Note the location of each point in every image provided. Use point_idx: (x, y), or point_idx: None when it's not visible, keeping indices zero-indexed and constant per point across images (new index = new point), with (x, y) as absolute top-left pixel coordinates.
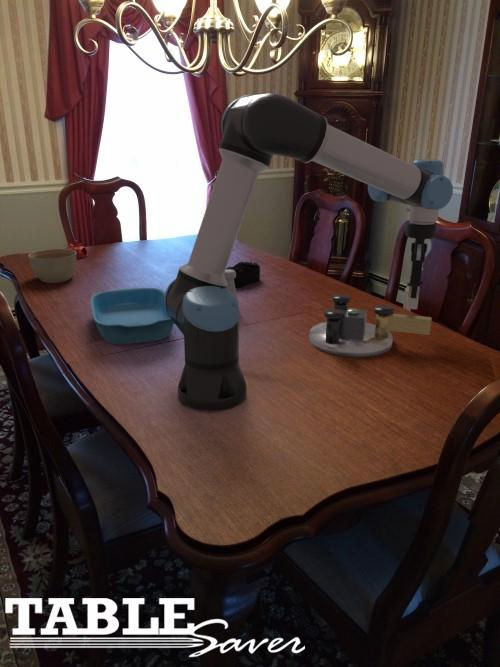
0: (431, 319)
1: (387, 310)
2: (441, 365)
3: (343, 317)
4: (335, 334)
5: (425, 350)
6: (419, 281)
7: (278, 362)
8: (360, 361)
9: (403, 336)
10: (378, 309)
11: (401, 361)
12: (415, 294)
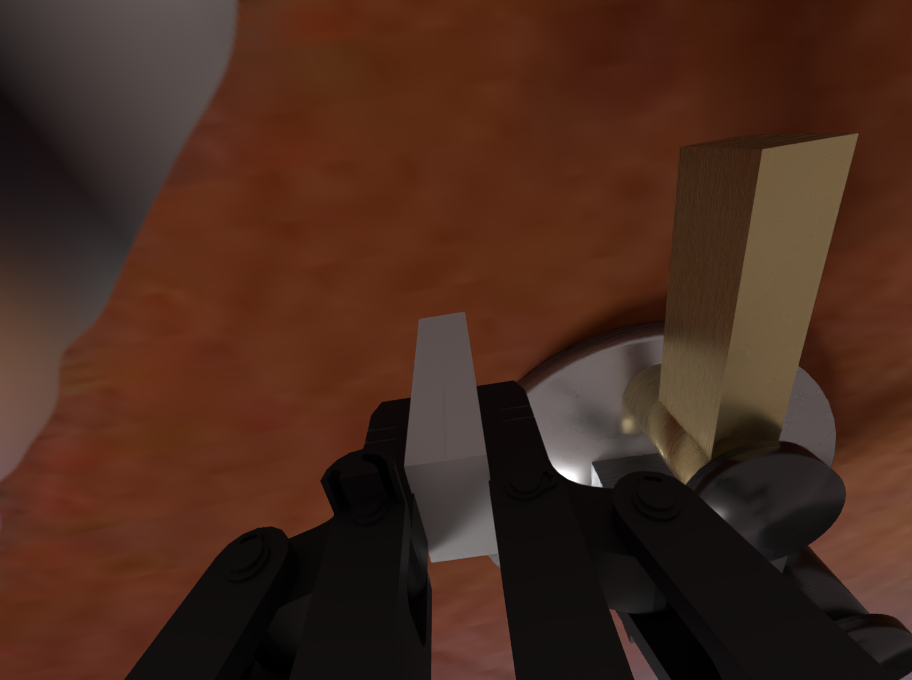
0: (834, 138)
1: (817, 492)
2: (896, 11)
3: (881, 617)
4: (812, 550)
5: (668, 149)
6: (753, 559)
7: (867, 576)
8: (850, 394)
9: (491, 299)
10: (798, 537)
11: (842, 243)
12: (531, 416)
